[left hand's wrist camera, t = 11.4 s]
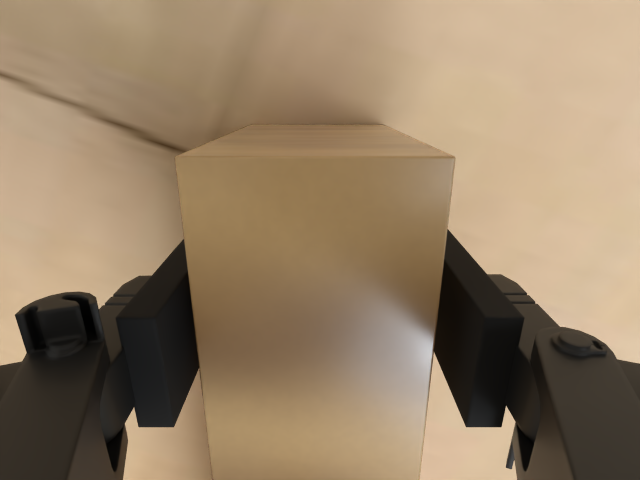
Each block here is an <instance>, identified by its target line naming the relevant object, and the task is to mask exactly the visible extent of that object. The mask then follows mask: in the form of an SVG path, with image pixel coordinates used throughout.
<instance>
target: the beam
mask: <svg viewBox="0 0 640 480" xmlns="http://www.w3.org/2000/svg"><path fill="white" fill-rule="evenodd" d="M175 165H176V174H177V182H178V191H179V199H180V208H181V216H182V225H183V233H184V242H185V250H186V259H187V267H188V276H189V284H190V293H191V301H192V310H193V318H194V327H195V335H196V344H197V352H198V361H199V369H200V378H201V386H202V395H203V403H204V412H205V420H206V429H207V437H208V446H209V454H210V463H211V471H212V479H213V480H419V479H420V470H421V461H422V452H423V443H424V434H425V425H426V416H427V407H428V398H429V389H430V380H431V371H432V363H433V354H434V345H435V336H436V327H437V318H438V309H439V300H440V291H441V282H442V273H443V264H444V255H445V246H446V237H447V228H448V219H449V211H450V202H451V193H452V184H453V175H454V166H455V157H454V156H452V155H450V154H447V153H445V152H443V151H441V150H439V149H436V148H434V147H432V146H430V145H427V144H425V143H423V142H421V141H418V140H416V139H414V138H412V137H410V136H407V135H405V134H403V133H401V132H398V131H396V130H394V129H392V128H389V127H387V126H385V125H294V124H251V125H249V126H247V127H244V128H242V129H239V130H237V131H235V132H232V133H230V134H228V135H225V136H223V137H220V138H218V139H216V140H213V141H211V142H208V143H206V144H204V145H201V146H199V147H197V148H194V149H192V150H189V151H187V152H185V153H182V154H180V155H178V156H175Z"/></svg>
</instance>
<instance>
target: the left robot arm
mask: <svg viewBox="0 0 640 480" xmlns="http://www.w3.org/2000/svg"><path fill="white" fill-rule="evenodd" d="M15 317H16V320H17V323H18V326H19V329H20V333H21V336H22V339H23V342H24V345H25V348H26V352H27V354H26V356H25V358H24V359H23V361H22V362H17V363H12V364H7V365H1V366H0V480H123V474H124V467H125V459H126V452H127V444H128V438H127V432H126V427H125V422H126V420H127V418H128V417H129V415H130V413H131V411H132V410H133V408H135V412H136V417H137V422H138V427H174V426H175V423H176V421H177V419H178V416H179V414H180V411H181V409H182V407H183V404H184V402H185V400H186V397H187V395H188V393H189V390H190V388H191V385H192V383H193V381H194V378H195V376H196V374H197V371H198V369H199V361H198V352H197V344H196V335H195V327H194V318H193V310H192V301H191V293H190V284H189V276H188V267H187V259H186V250H185V242H184V239H183V240H182V242H181V243H180V244H179V245H178V246H177V247H176V248H175V250H174V251H173V252H172V253H171V254H170V255H169V257H168V258H167V259H166V260H165V261H164V262H163V263H162V265H161V266H160V267H159V268H158V269H157V270H156V272H155V273H154V274H153V275H152V276H138V277H136V278H134V279H133V280H131V281H129V282H127V283H125V284H123V285H122V286H121V287H120V288H119V289H118V291H117V292H116V293H115V294H114V295H113V297H111V298H110V299H109V300H108V301H107V302H106V303H105V305H103V306H102V307H101V308H100V309H98V304H97V300H96V297H95V296H93V295H91V294H90V293H84V292H65V293H60V294H56V295H51V296H48V297H45V298H42V299H39V300H36V301H34V302H32V303H30V304H29V305H27V306H25V307H23V308H22V309H21V310H20V311H19V312H18V313H16V314H15ZM434 352H435V355H436V357H437V360H438V362H439V364H440V367H441V369H442V371H443V374H444V376H445V378H446V381H447V383H448V386H449V388H450V390H451V393H452V395H453V397H454V400H455V402H456V404H457V407H458V409H459V411H460V414H461V416H462V419H463V421H464V423H465V426H466V427H501V426H502V422H503V417H504V412H505V408H506V406H507V407H508V409H509V411H510V413H511V414H512V416H513V418H514V420H515V421H516V423H515V427H514V432H513V436H512V440H511V445H510V449H509V453H508V458H507V464H506V468H509V469H512V466H513V461H514V460H515V466H516V473H517V480H640V364H638V363H633V362H627V361H622V360H618V359H616V357H615V355H614V353H613V352H612V351H611V350H610V348H609V347H608V346H607V345H606V344H605V343H603V342H602V341H600V340H598V339H597V338H595V337H594V336H591V335H589V334H586V333H584V332H582V331H578V330H574V329H570V328H566V327H559V326H558V325H557V323H556V322H555V321H554V320H553V319H552V318H551V317H550V316H549V315H548V314H547V313H546V312H545V311H544V310H543V309H542V308H541V307H540V306H539V305H538V304H535V301H534V300H533V299H532V298H531V297H530V296H529V295H527V293H526V292H525V291H524V290H523V289H522V288H521V287H520V286H519V285H518V284H517V283H516V282H514V281H512V280H510V279H508V278H507V277H505V276H503V275H501V274H486V273H485V272H484V270H483V269H482V268H481V267H480V266H479V265H478V263H477V262H476V261H475V260H474V259H473V258H472V257H471V255H470V254H469V253H468V252H467V251H466V250H465V248H464V247H463V246H462V245H461V244H460V243H459V242H458V240H457V239H456V238H455V237H454V236H453V235H452V234H451V232H450V231H449V230H448V229H447V237H446V246H445V255H444V264H443V273H442V282H441V291H440V300H439V309H438V318H437V327H436V336H435V345H434Z"/></svg>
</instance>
